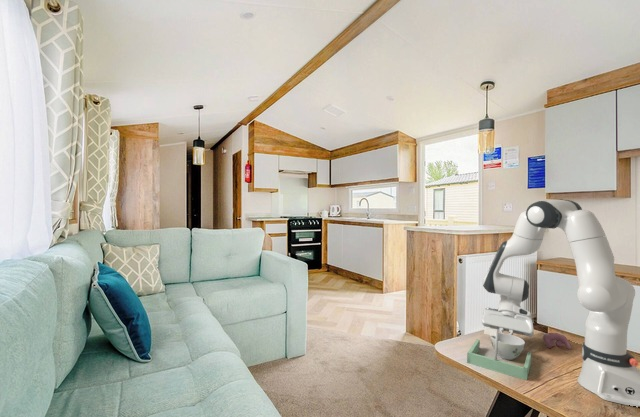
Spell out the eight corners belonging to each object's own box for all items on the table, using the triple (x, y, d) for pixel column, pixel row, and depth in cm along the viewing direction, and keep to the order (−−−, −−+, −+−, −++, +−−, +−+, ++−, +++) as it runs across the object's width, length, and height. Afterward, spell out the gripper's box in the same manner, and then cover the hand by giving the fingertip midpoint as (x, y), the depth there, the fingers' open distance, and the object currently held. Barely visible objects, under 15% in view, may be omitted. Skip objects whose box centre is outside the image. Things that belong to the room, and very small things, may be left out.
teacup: (531, 363, 130) (532, 343, 130) (504, 365, 128) (505, 345, 127) (504, 346, 145) (504, 329, 144) (479, 348, 142) (480, 330, 142)
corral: (531, 362, 130) (532, 323, 130) (526, 380, 117) (528, 337, 117) (476, 347, 143) (477, 312, 143) (467, 362, 129) (468, 323, 129)
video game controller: (566, 350, 146) (562, 333, 149) (573, 349, 142) (568, 332, 145) (543, 348, 147) (540, 332, 150) (549, 348, 143) (545, 331, 146)
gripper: (483, 303, 153) (478, 330, 145) (534, 313, 140) (532, 342, 133) (485, 310, 157) (480, 336, 149) (535, 320, 144) (532, 349, 136)
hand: (505, 339), depth 141 cm, fingers closed, pressing on teacup
